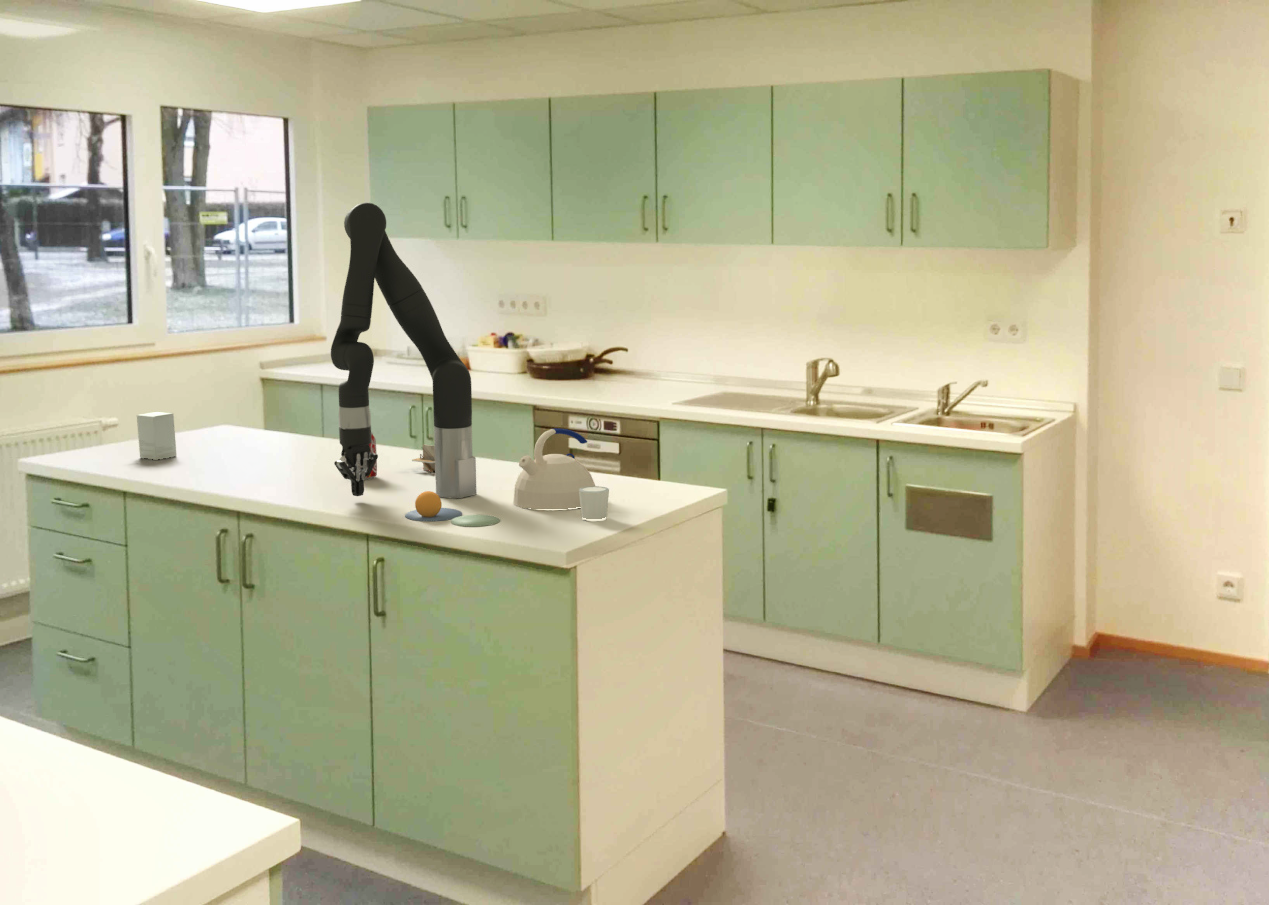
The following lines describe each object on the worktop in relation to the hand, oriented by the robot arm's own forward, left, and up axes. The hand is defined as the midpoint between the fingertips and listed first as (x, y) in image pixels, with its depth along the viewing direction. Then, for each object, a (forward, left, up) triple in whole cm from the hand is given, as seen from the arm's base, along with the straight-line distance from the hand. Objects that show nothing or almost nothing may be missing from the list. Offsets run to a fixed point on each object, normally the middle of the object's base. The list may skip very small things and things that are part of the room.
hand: (357, 495), depth 316 cm
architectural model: (+14, -36, -2) cm, 39 cm away
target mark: (-25, -1, -2) cm, 25 cm away
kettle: (-38, -29, -2) cm, 48 cm away
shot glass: (-57, -21, -2) cm, 61 cm away
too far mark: (-37, -3, -2) cm, 37 cm away
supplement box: (+91, -4, -2) cm, 91 cm away
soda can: (+21, -20, -2) cm, 29 cm away
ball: (-26, +1, +2) cm, 26 cm away
